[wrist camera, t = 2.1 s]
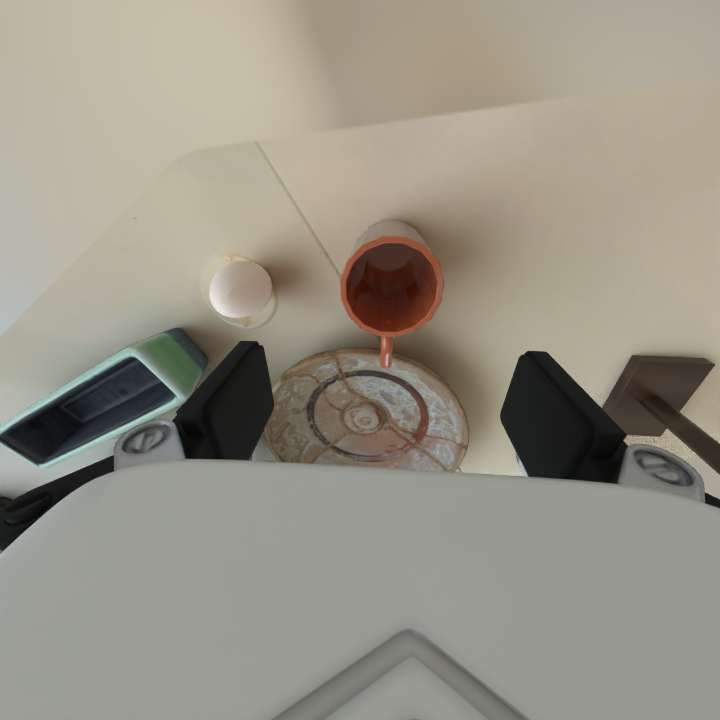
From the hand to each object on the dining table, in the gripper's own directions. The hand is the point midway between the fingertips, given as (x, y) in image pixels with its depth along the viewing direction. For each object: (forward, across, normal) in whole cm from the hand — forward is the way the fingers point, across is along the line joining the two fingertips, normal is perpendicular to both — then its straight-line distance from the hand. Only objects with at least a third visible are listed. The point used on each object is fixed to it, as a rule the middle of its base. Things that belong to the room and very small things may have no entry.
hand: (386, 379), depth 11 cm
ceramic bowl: (+19, +2, +19) cm, 27 cm away
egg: (+19, +12, +2) cm, 23 cm away
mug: (+19, 0, +2) cm, 19 cm away
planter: (+20, +32, +16) cm, 41 cm away
